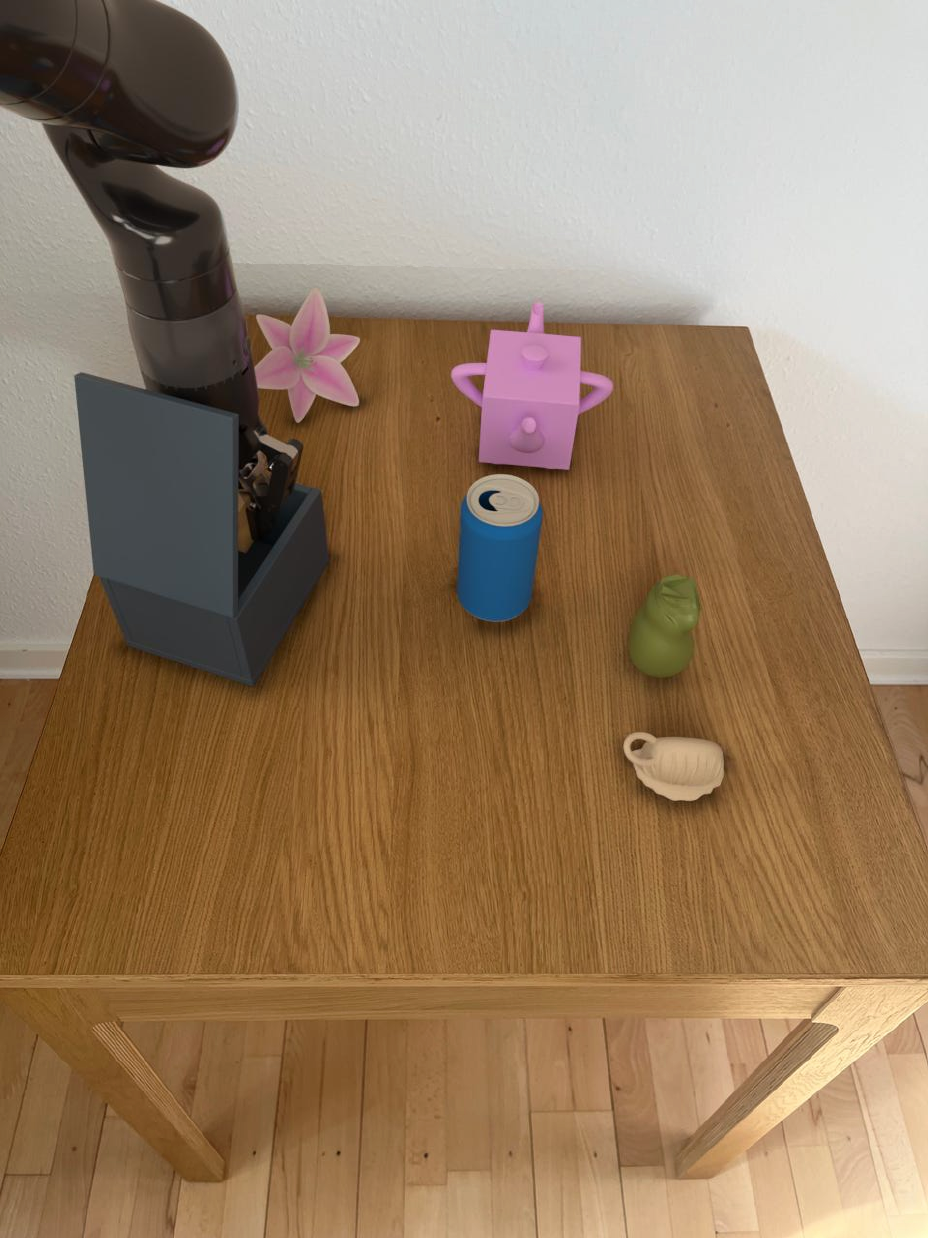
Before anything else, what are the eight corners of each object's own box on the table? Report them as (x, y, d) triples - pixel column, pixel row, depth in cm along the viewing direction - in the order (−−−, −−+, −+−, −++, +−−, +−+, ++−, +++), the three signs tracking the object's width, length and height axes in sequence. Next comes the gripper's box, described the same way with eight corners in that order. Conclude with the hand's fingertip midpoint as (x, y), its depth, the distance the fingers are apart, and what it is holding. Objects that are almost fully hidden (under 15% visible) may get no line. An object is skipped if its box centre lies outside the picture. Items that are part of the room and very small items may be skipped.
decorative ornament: (723, 806, 70) (743, 770, 66) (612, 793, 71) (624, 757, 66) (720, 759, 73) (739, 722, 69) (612, 746, 73) (624, 709, 69)
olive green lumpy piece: (620, 635, 80) (641, 555, 72) (682, 638, 80) (710, 559, 72) (625, 689, 77) (648, 612, 69) (690, 692, 77) (720, 615, 69)
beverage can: (462, 566, 84) (467, 465, 75) (533, 575, 84) (547, 475, 75) (451, 621, 80) (455, 523, 71) (527, 631, 80) (540, 533, 71)
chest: (213, 527, 86) (195, 454, 79) (329, 561, 84) (321, 489, 77) (126, 646, 78) (98, 575, 71) (253, 687, 76) (236, 619, 69)
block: (196, 538, 76) (185, 498, 73) (223, 502, 79) (213, 461, 75) (246, 553, 75) (237, 513, 72) (271, 516, 78) (264, 476, 75)
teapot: (427, 423, 96) (428, 332, 88) (530, 379, 101) (540, 288, 93) (518, 512, 89) (529, 422, 80) (624, 459, 94) (645, 369, 86)
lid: (81, 371, 62) (73, 374, 62) (239, 413, 60) (232, 417, 59) (99, 569, 71) (93, 574, 70) (238, 612, 69) (232, 618, 68)
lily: (233, 427, 96) (250, 382, 88) (238, 326, 100) (254, 274, 91) (347, 445, 101) (373, 404, 92) (348, 348, 104) (373, 299, 96)
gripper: (70, 355, 63) (132, 533, 76) (263, 407, 60) (292, 582, 73) (131, 296, 67) (180, 474, 81) (314, 342, 65) (333, 518, 78)
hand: (233, 524), depth 77 cm, fingers closed on block, 4 cm apart
